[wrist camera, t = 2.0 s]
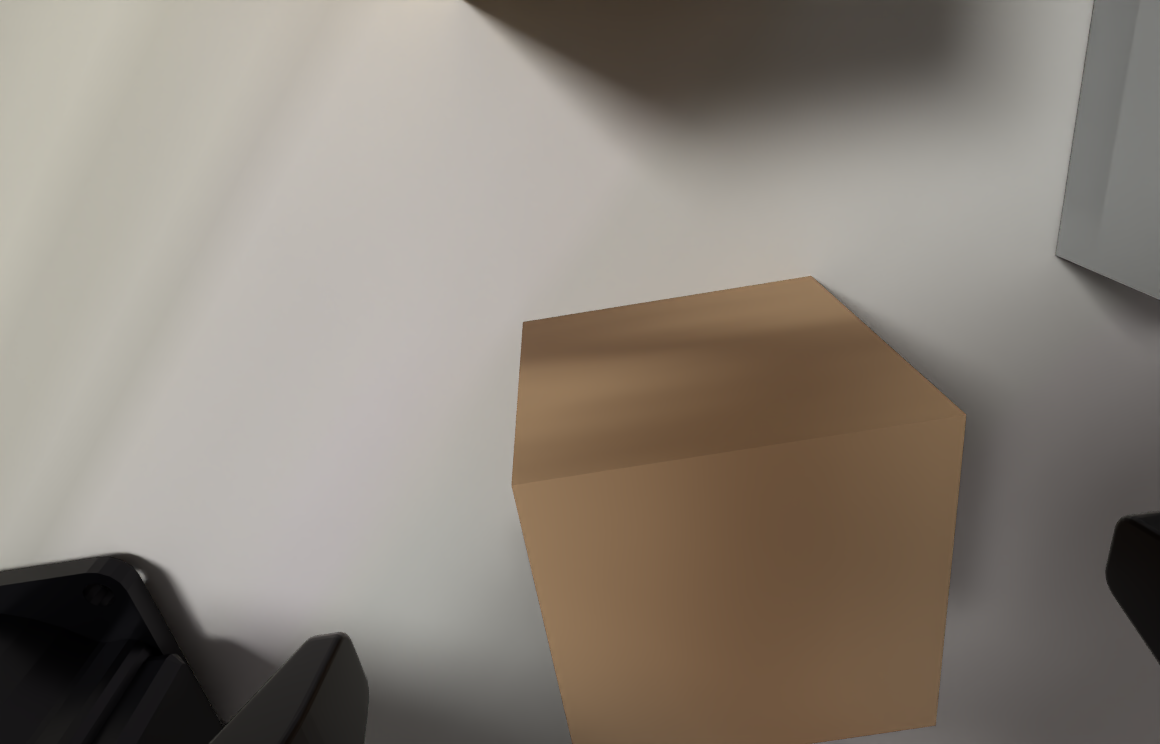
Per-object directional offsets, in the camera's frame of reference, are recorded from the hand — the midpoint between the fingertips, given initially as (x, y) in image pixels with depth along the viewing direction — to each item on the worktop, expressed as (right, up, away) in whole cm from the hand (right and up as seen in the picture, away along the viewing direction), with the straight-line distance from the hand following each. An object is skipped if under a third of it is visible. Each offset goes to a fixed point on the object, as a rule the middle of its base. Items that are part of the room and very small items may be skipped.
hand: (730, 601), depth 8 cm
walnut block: (0, +2, +4) cm, 4 cm away
